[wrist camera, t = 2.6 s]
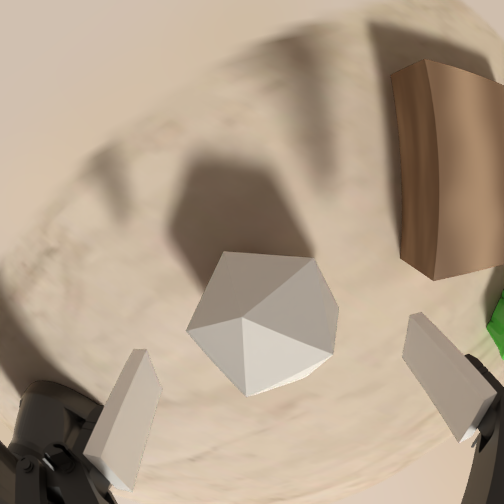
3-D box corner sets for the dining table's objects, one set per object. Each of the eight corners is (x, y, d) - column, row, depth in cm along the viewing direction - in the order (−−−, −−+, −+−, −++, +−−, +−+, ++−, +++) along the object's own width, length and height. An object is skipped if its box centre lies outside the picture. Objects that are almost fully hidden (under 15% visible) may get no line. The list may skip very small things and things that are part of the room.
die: (201, 228, 20) (140, 358, 14) (323, 199, 15) (292, 379, 9) (257, 295, 24) (224, 404, 19) (358, 286, 20) (342, 418, 14)
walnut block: (398, 256, 21) (433, 281, 16) (388, 76, 16) (424, 58, 12) (501, 240, 21) (534, 255, 16) (498, 102, 17) (534, 100, 12)
